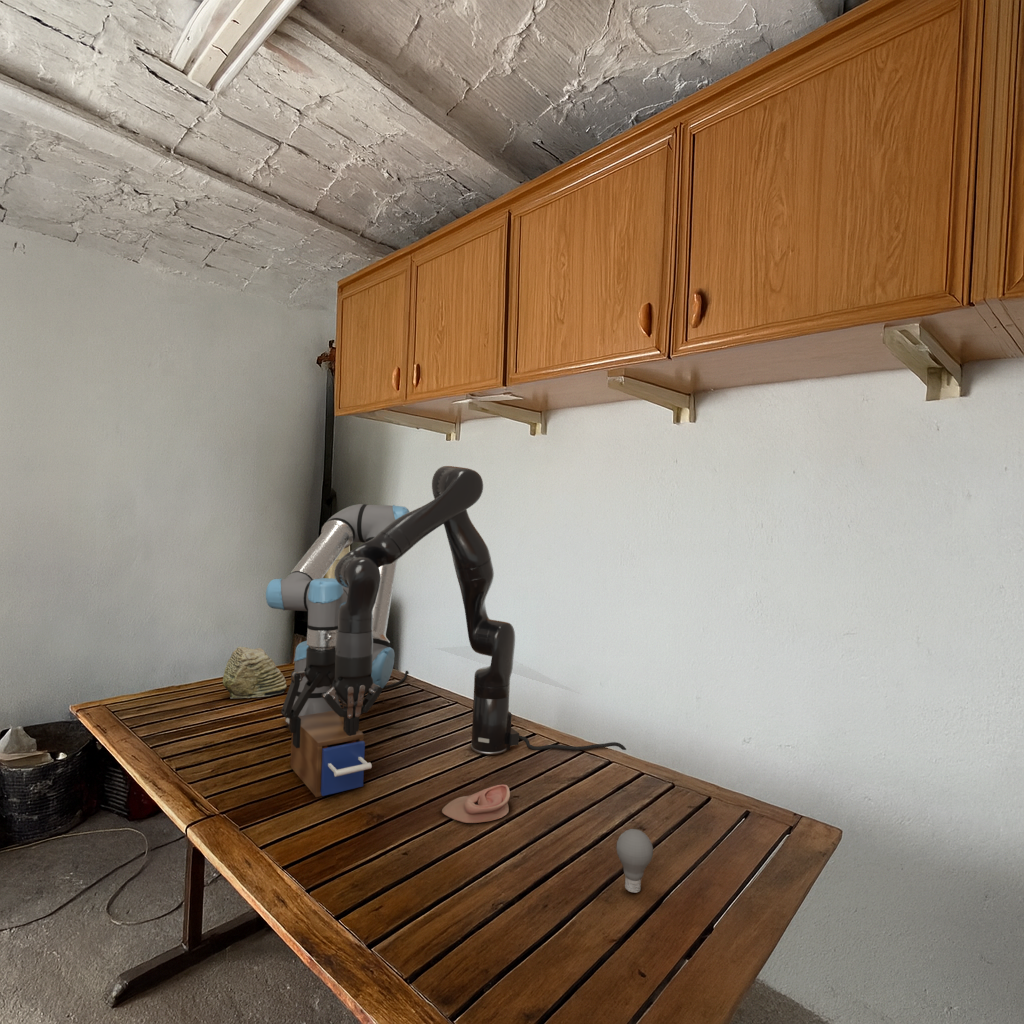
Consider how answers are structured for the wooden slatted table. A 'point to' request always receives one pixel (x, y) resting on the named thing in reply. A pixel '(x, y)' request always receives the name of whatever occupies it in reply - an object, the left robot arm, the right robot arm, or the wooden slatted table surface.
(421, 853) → the wooden slatted table surface
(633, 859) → the light bulb
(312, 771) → the cabinet
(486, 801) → the anatomical model
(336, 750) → the drawer
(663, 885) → the wooden slatted table surface
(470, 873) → the wooden slatted table surface
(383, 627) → the left robot arm
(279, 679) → the fossil
